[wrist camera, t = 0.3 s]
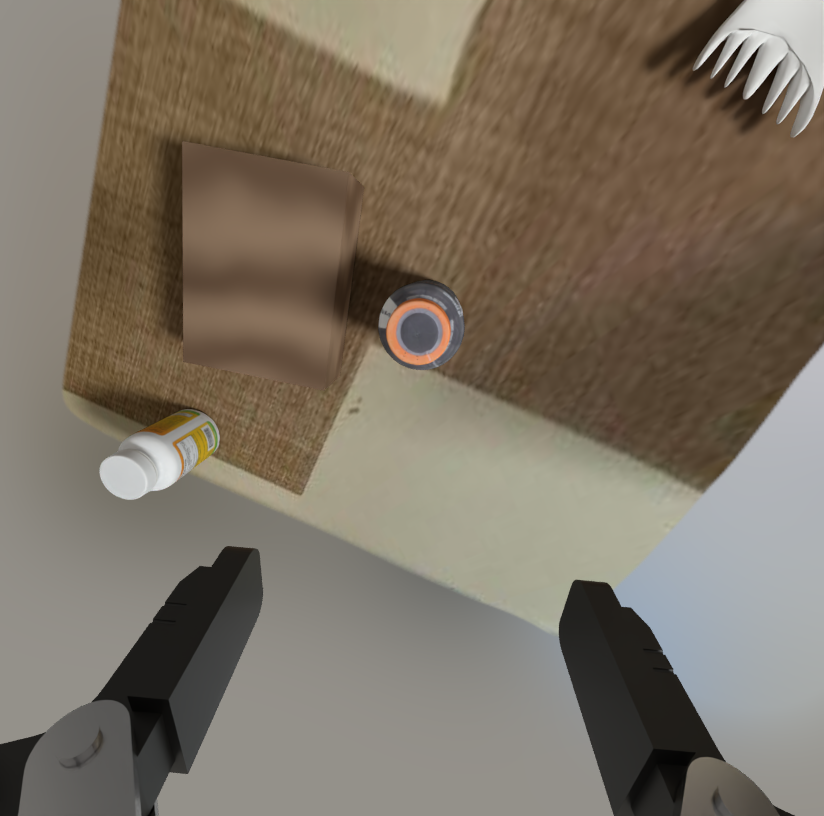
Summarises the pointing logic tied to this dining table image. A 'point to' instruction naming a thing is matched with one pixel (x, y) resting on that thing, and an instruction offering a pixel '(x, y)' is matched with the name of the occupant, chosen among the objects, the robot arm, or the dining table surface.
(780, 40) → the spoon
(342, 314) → the stand
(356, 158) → the dining table surface
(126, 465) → the supplement bottle
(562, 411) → the dining table surface
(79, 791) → the robot arm
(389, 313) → the pill bottle
